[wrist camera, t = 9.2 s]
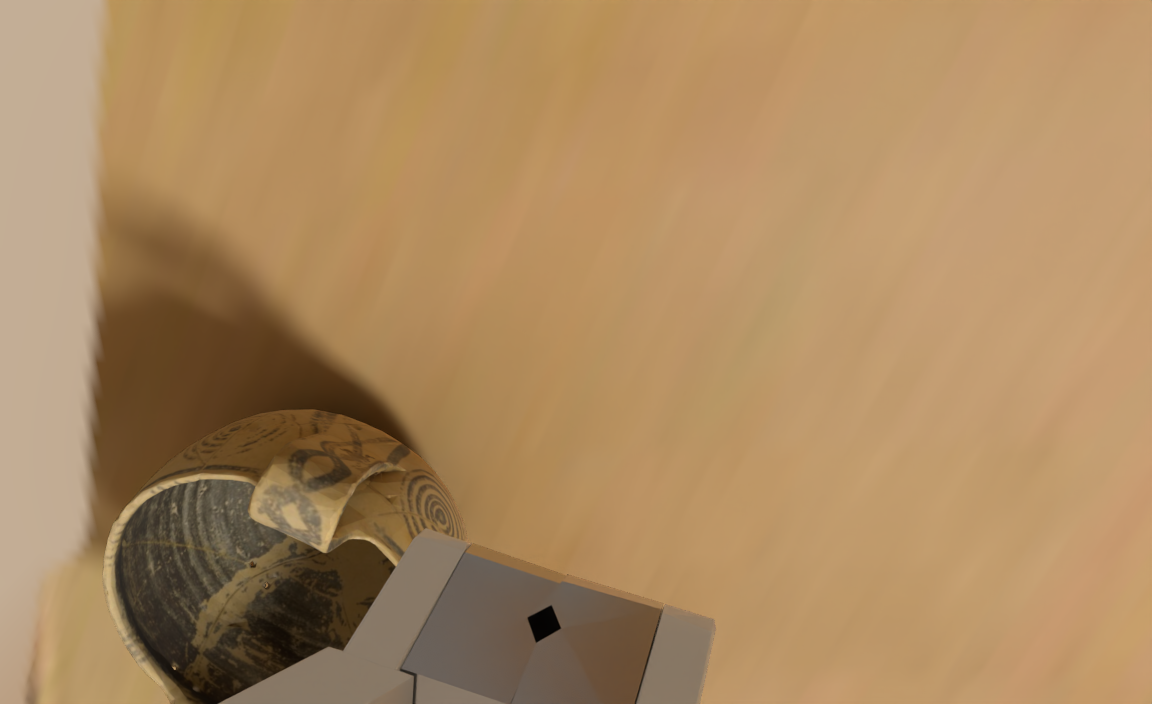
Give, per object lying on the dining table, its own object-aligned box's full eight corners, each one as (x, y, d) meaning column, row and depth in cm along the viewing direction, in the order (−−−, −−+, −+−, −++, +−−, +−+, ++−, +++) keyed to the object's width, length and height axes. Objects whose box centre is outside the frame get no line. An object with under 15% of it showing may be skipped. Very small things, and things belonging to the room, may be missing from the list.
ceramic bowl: (288, 262, 48) (104, 380, 35) (581, 421, 49) (513, 599, 35) (169, 569, 58) (-14, 758, 44) (416, 700, 58) (312, 928, 44)
